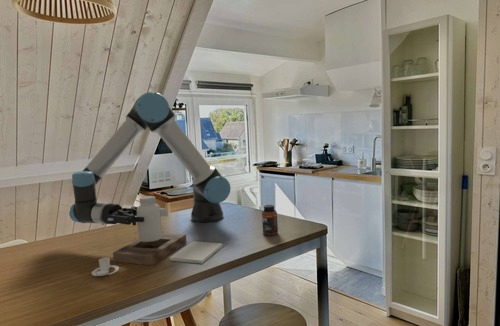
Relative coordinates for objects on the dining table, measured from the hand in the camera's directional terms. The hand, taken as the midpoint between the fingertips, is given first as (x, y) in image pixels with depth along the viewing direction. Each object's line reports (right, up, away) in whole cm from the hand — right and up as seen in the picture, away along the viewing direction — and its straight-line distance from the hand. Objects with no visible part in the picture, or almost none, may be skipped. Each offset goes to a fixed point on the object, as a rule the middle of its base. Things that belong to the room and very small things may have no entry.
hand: (160, 215), depth 120 cm
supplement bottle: (+39, -10, +16) cm, 44 cm away
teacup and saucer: (-16, -16, -14) cm, 27 cm away
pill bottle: (-4, -9, +3) cm, 10 cm away
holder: (-4, -13, +3) cm, 14 cm away
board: (+13, -13, -1) cm, 18 cm away
